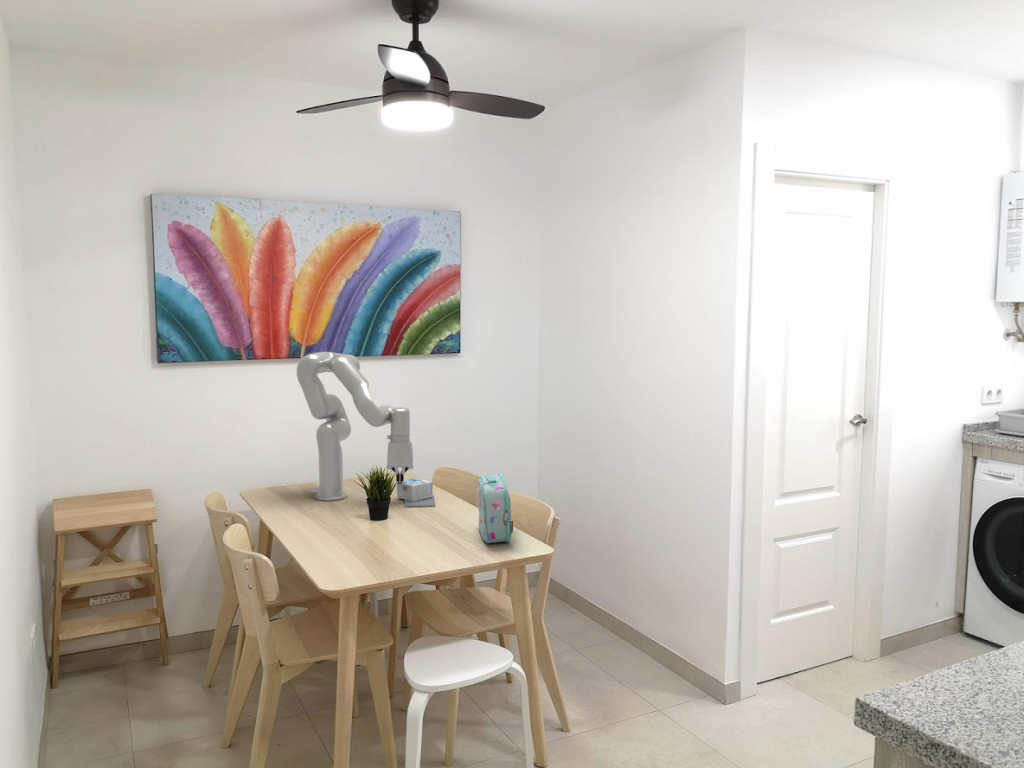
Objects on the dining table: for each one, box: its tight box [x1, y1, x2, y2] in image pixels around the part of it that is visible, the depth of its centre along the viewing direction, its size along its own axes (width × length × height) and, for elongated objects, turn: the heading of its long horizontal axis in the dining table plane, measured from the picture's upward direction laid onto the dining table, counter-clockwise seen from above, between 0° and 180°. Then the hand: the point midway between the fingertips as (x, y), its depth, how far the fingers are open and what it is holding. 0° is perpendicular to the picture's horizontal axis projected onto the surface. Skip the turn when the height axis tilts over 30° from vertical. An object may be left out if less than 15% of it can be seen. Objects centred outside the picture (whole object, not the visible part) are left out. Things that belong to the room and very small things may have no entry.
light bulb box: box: [396, 477, 434, 502], centre depth 321 cm, size 11×7×11 cm
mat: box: [404, 494, 436, 508], centre depth 317 cm, size 12×16×1 cm
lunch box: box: [477, 473, 514, 544], centre depth 271 cm, size 27×10×21 cm, turn 8°
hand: (399, 483), depth 315 cm, fingers closed
